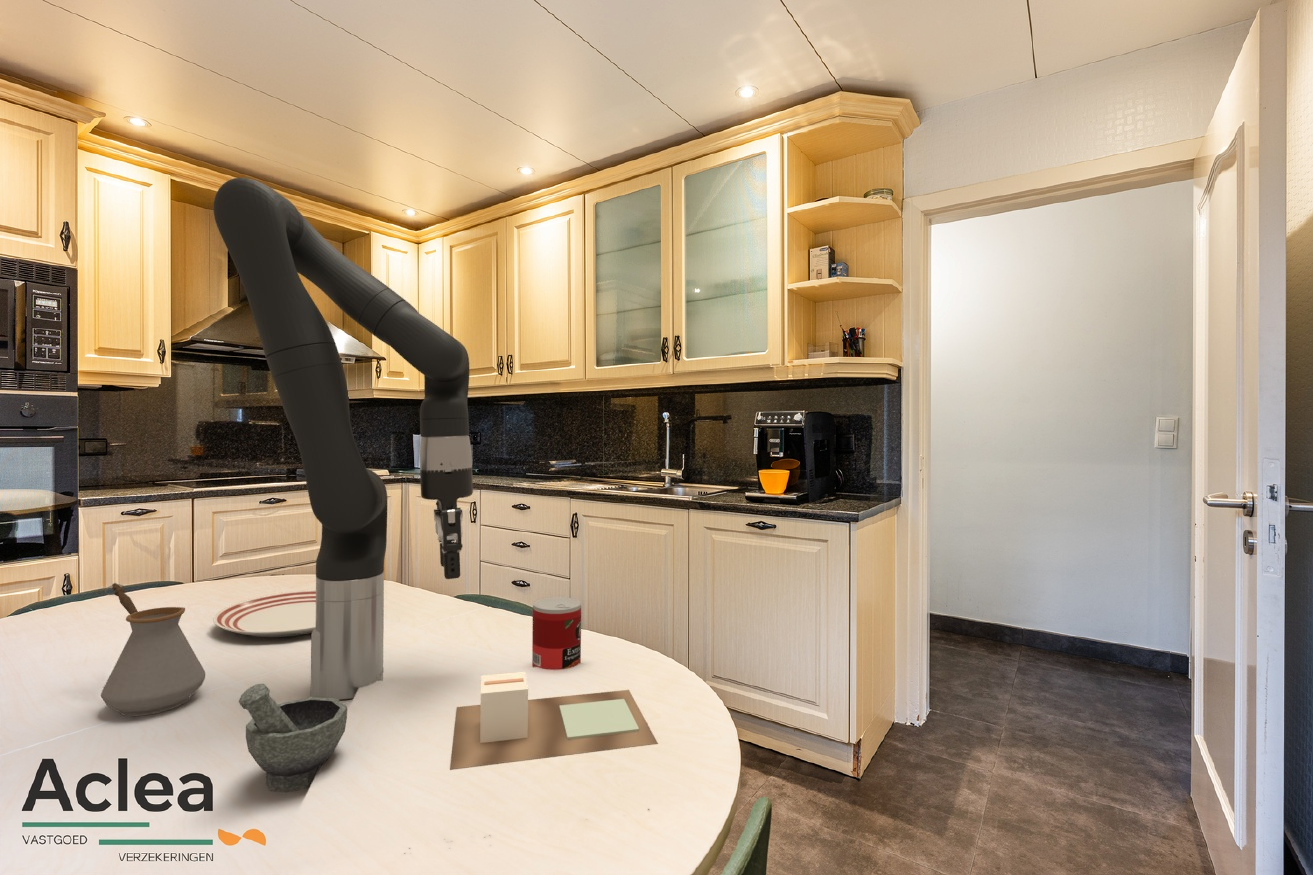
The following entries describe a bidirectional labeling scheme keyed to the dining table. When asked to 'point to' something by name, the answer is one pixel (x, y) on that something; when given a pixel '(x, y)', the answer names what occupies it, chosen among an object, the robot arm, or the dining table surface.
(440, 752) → the dining table surface
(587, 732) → the mat
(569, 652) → the canned food
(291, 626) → the dinner plate
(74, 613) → the dining table surface
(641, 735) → the post board
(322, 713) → the mortar and pestle
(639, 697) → the dining table surface
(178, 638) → the coffee pot
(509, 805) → the dining table surface
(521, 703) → the cream drawer box
